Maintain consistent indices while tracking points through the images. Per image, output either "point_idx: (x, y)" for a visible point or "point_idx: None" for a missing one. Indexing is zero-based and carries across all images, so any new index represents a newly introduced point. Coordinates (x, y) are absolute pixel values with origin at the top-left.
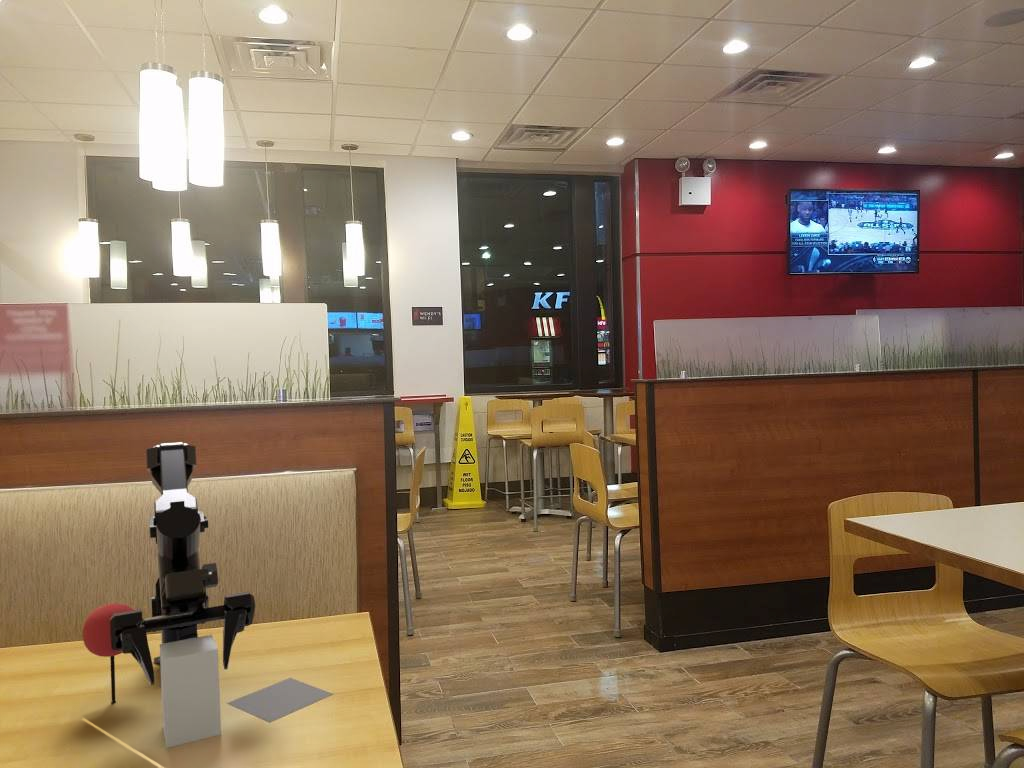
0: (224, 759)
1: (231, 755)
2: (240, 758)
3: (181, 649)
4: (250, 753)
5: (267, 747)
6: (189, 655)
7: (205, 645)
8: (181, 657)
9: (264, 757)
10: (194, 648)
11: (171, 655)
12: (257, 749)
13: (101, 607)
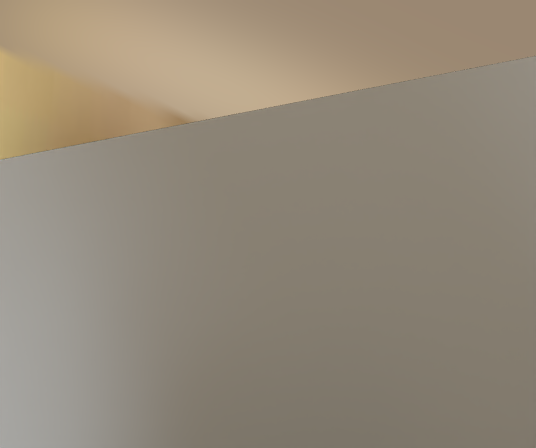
0: (155, 106)
1: (132, 125)
2: (103, 94)
3: (407, 378)
4: (70, 116)
5: (12, 137)
6: (262, 111)
7: (68, 414)
8: (355, 103)
9: (28, 73)
10: (220, 341)
11: (497, 162)
12: (46, 135)
13: None
